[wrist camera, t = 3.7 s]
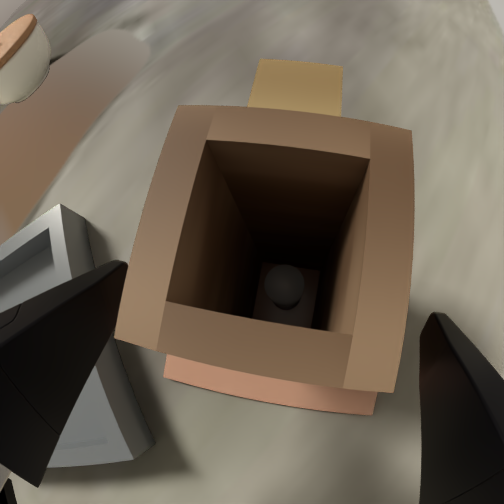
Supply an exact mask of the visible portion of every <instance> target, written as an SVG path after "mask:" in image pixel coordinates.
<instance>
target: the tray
mask: <svg viewBox="0 0 504 504" xmlns="http://www.w3.org/2000/svg"><path fill="white" fill-rule="evenodd" d="M93 269H95V267H94V262H93V258H92V253H91V248H90V244H89V239H88V233H87V228H86V223H85V218H84V217H82V216H80V215H79V214H77V213H75V212H73V211H72V210H70V209H68V208H67V207H65V206H63V205H62V204H58V205H57V206H55V207H54V208H52V209H51V210H49V211H48V212H46V213H45V214H43V215H42V216H40V217H39V218H37V219H36V220H35V221H33V222H32V223H30V224H29V225H27V226H26V227H25V228H23V229H22V230H21V231H19V232H18V233H16V234H15V235H14V236H12V237H11V238H10V239H8V240H7V241H6V242H5V243H3V244H2V245H1V246H0V313H1V312H3V311H5V310H7V309H10V308H12V307H14V306H16V305H18V304H20V303H23V302H24V301H26V300H28V299H30V298H32V297H34V296H37V295H39V294H41V293H43V292H45V291H47V290H49V289H51V288H53V287H56V286H58V285H60V284H62V283H64V282H66V281H69V280H71V279H73V278H75V277H77V276H80V275H82V274H84V273H86V272H88V271H91V270H93ZM154 444H155V441H154V439H153V437H152V435H151V433H150V430H149V428H148V426H147V424H146V421H145V419H144V417H143V415H142V412H141V410H140V407H139V405H138V403H137V400H136V398H135V395H134V393H133V390H132V387H131V385H130V382H129V380H128V377H127V374H126V371H125V369H124V366H123V363H122V360H121V357H120V354H119V351H118V348H117V345H116V342H115V339H114V336H113V333H112V335H111V336H110V338H109V340H108V342H107V344H106V346H105V347H104V349H103V351H102V353H101V355H100V357H99V359H98V361H97V362H96V364H95V366H94V368H93V370H92V372H91V374H90V376H89V378H88V380H87V382H86V384H85V386H84V388H83V390H82V392H81V394H80V396H79V398H78V400H77V402H76V404H75V406H74V408H73V410H72V412H71V414H70V416H69V418H68V421H67V423H66V425H65V427H64V429H63V431H62V434H61V436H60V438H59V441H58V443H57V445H56V447H55V450H54V452H53V454H52V457H51V459H50V461H49V464H48V466H47V468H50V467H71V466H85V465H95V464H105V463H113V462H120V461H127V460H134V459H135V458H137V457H138V456H139V455H141V454H142V453H143V452H145V451H146V450H147V449H149V448H150V447H152V446H153V445H154Z"/></svg>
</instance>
